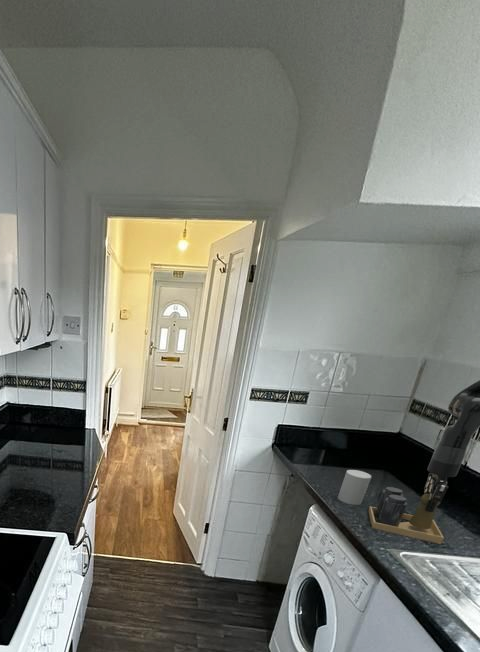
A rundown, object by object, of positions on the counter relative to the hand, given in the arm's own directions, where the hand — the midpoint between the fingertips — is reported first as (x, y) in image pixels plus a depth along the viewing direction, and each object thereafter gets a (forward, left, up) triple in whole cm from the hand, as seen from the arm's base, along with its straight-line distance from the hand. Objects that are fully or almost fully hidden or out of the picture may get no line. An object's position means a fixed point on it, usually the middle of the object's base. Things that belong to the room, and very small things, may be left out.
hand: (426, 507), depth 137 cm
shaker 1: (+9, -4, -8) cm, 13 cm away
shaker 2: (+9, +4, -8) cm, 13 cm away
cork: (0, 0, -7) cm, 7 cm away
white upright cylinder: (+20, -14, -9) cm, 26 cm away
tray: (+4, 0, -9) cm, 10 cm away
